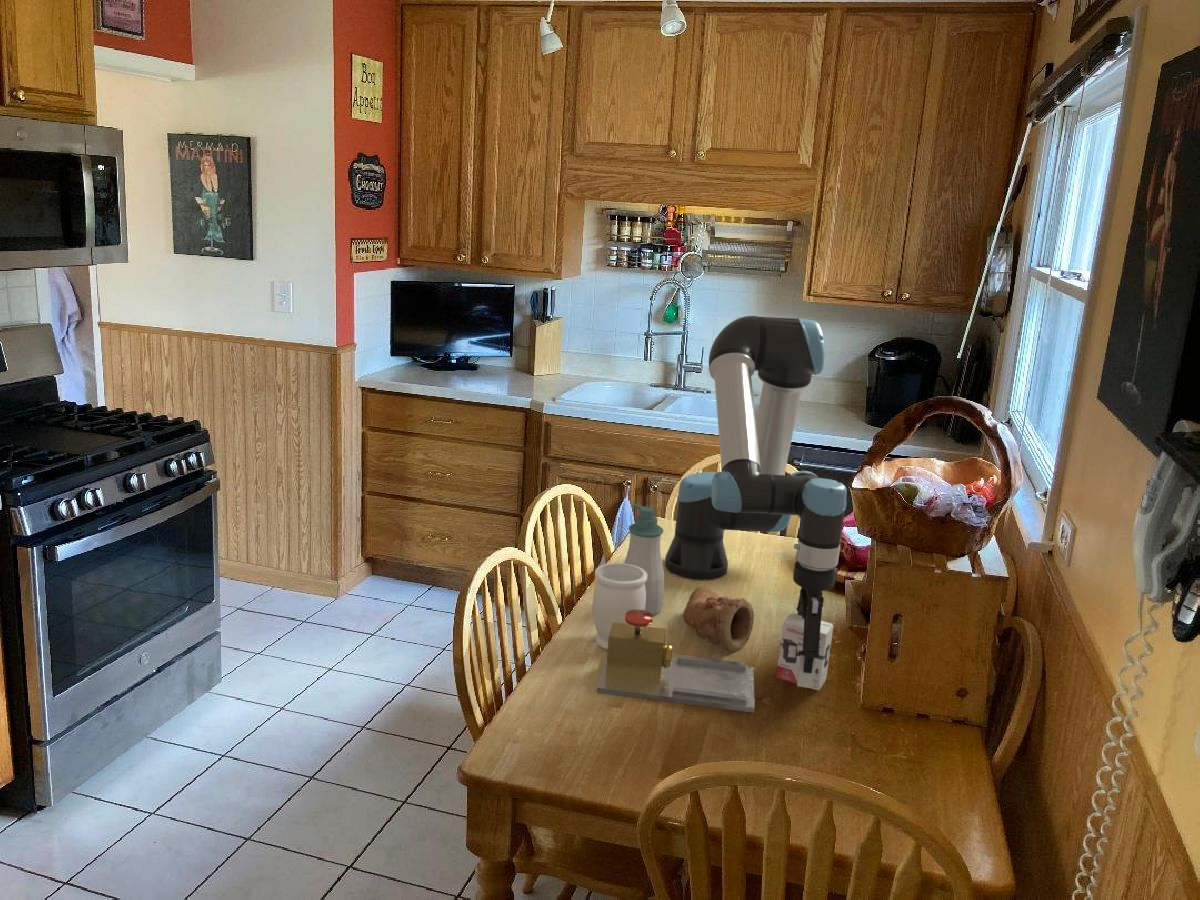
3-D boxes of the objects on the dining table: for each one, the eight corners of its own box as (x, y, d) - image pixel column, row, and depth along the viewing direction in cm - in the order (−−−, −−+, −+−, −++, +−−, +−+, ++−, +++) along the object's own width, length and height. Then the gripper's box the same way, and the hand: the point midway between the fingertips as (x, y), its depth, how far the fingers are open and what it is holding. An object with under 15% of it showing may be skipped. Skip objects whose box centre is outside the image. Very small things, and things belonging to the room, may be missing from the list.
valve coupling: (607, 654, 183) (611, 595, 180) (752, 672, 180) (759, 612, 177) (596, 692, 169) (600, 629, 166) (754, 712, 165) (761, 648, 162)
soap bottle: (638, 595, 211) (646, 498, 205) (671, 610, 204) (680, 511, 198) (607, 607, 204) (614, 507, 198) (640, 622, 198) (649, 520, 192)
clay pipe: (679, 666, 188) (753, 659, 183) (667, 617, 186) (741, 608, 181) (697, 625, 205) (765, 617, 200) (686, 580, 203) (754, 571, 198)
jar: (607, 625, 195) (612, 558, 191) (651, 640, 190) (657, 570, 186) (580, 644, 186) (584, 574, 182) (625, 659, 181) (631, 587, 177)
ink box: (775, 678, 178) (782, 621, 175) (783, 667, 182) (790, 612, 179) (819, 691, 174) (827, 633, 171) (826, 680, 178) (834, 623, 175)
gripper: (791, 538, 184) (779, 636, 190) (799, 587, 161) (785, 699, 166) (830, 542, 184) (817, 641, 189) (844, 593, 160) (828, 704, 165)
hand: (802, 668), depth 178 cm, fingers open, 13 cm apart
